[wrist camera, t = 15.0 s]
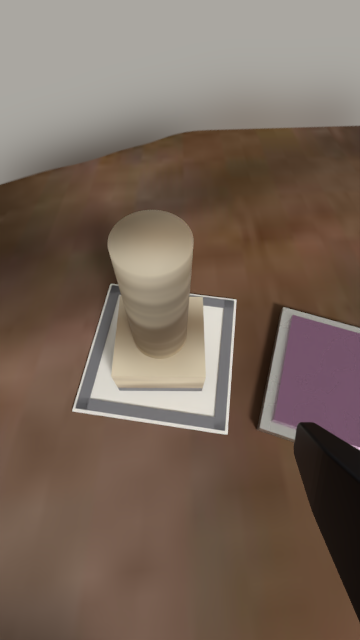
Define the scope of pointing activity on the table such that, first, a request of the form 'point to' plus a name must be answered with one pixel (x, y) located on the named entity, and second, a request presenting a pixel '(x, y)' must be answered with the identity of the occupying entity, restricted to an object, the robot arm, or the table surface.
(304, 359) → the ink pad
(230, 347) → the marked card
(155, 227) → the stamp
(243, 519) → the table surface
